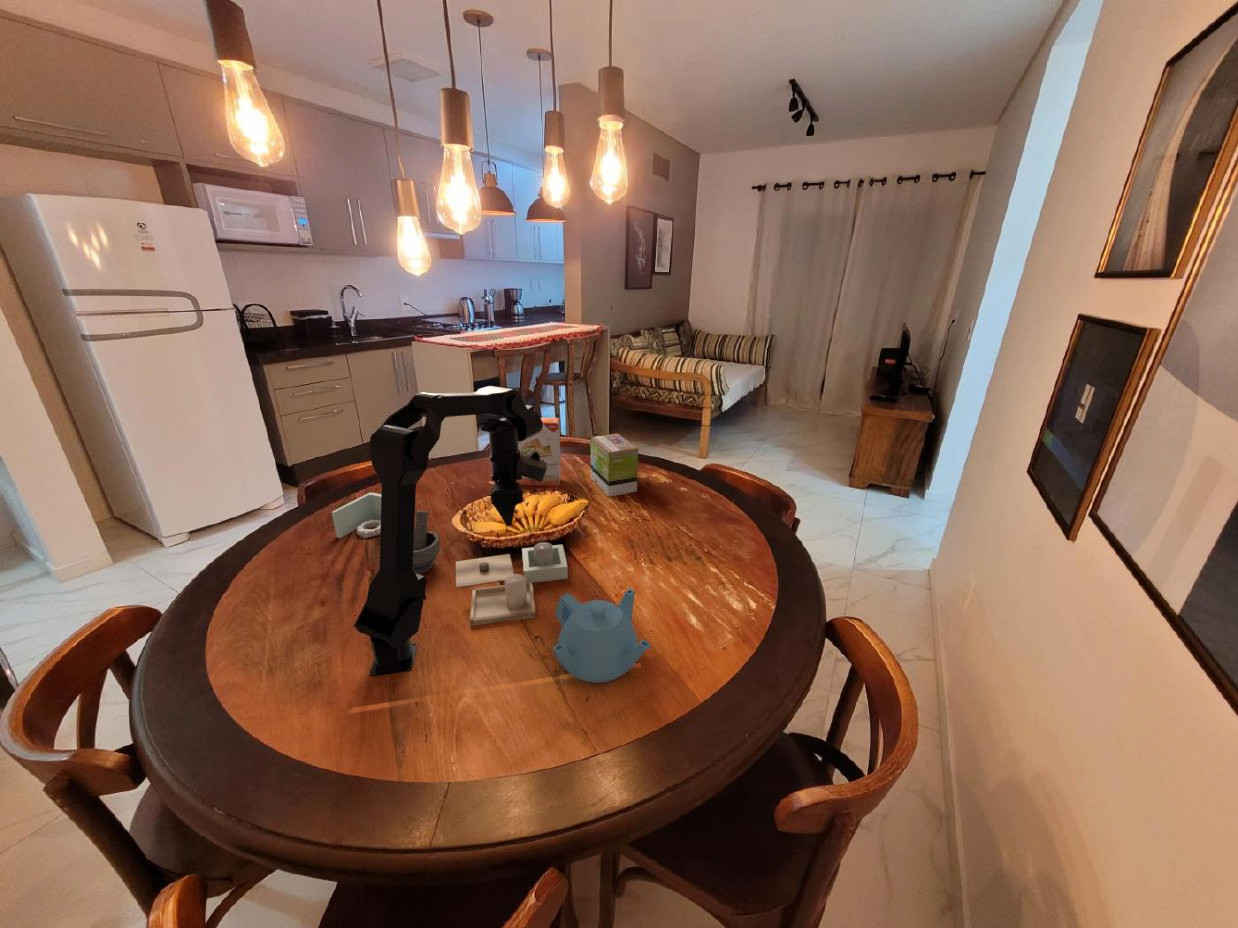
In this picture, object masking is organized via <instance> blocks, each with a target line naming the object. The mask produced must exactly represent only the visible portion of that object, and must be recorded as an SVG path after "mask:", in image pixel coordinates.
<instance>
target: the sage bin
mask: <svg viewBox="0 0 1238 928" xmlns="http://www.w3.org/2000/svg"><path fill="white" fill-rule="evenodd" d="M551 545H552V552H553V565H549V566H539V567H535V559H534V546H533V547H532V546H531V547H524V548H521V552H522V553H521V555H522V556H521V557H522V568H523V576H524V577H525V578H526V583H528V582H532V584H533V583H543V582H550V581H558V580H559V581H561V580H568V579H569V575H568V574H569V573H568V572H569V571H568V563H567V558H566V554H565V549H564V546H563V545H564V544H556V545H554V544H551Z"/></svg>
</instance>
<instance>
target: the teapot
mask: <svg viewBox="0 0 1238 928" xmlns="http://www.w3.org/2000/svg"><path fill="white" fill-rule="evenodd" d="M635 594H636V590H635V589H631V588H628V589H627V590H626V591H624V595H623V596H622V597H621V601H619V602H620V603H619V604H618V606H617V604H615V603H612V602H610V601H609V600H602V599H601V600H600V599H593V600H588V601H586V602H584V603H581V602H579V601H578V600H577V599H576V598H575V597H574V596H573V595H572V594H570V592H566V593H565V594H563V595H561V596H560V597H559V600H558V603H557V607H556V608H555V609H556V610H555V612H554V614H555V616H556V618H557V619H558V622H559V624H560V625H561V630H560V632H559V636H558V638H557V644H556V645H555V646H554V647H552V651H553V653H554V655H555V658H556V659H557V661H558V663H559V665H560V667H562V668H563V669H564V670H565V671H566V672H567V673H568V674H570V675H571V676H572V677H573V678H576V679H578V680H580V681H583V682H586V683H591V684H603V683H608V682H611V681H614V680H616V679H618V678H620V677H622V676H623V675H625V674H627V672H628V671H629V670H631V668H633V666H634V665H635V664H636V663H637V662H638V660H639V659H640V658H641V657H642V656H643V655H644V654H645V652H646V651H647V650H648V649H649V648H650V647H651V645H652V644H651V643H650V642H648V641H646V640H645V639H644V638H643V639H641V641H639V640H638V637H637V632H636V630H635V628H634V626H633V623H632V621H633V613H634V603H635ZM638 641H639V642H638Z"/></svg>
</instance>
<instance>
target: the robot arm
mask: <svg viewBox="0 0 1238 928" xmlns="http://www.w3.org/2000/svg"><path fill="white" fill-rule="evenodd" d="M474 415H475V416H476V415H477V416H479V415H489V416H494V417H495V416H496V417H500V418H497V419H494V418H487V420H486V422H485V423H484V424H483V425H482V426H481V428H480V430H481V431H482V432H486V433H488V435H489V436H488V439H489V451H490V453H489V454H490V456H489V457H490V459H489V461H490V464H491V467H490V468H491V481H493V482H494V483H493V485H492V486H491V487H490V492H489V493H490V503H491V505H492V506H493V507H494V508H495V510H496V511H497V513H498V514H499V516H500V517H501V519H502V521H503V523H504V524H505V526H506V527H509V526H513V522H514V515H515V511H516V506H518V505H520V504H521V503H523V502H524V490H523V485H520V484H519V483H518V482H516V481H517V480H522V476H524V477H527V478H531V479H535V480H536V481H539V482H542V481H543V479H544V476H545V473H546V470H547V465H546V462H544V460H540V455H539V452H535V451H532V452H531V453H530V454H529V455H526V456H522V455H520V450H519V448H518V441H524V440H526V439H528V438H530V437H532V436H534V435H536V434H538V433H539V432H540V431H541V430H542V427H543V422H542V420H541V418H542V417H541V416H540V414H538V413H537V412H536V411H535V406H534V405H531V404H525V402H524V400H523V399H522V397H521V396H520V393H519V390H517V389H514V388H507V387H499V386H493V385H488V386H484V387H481V388H478V389H477V391H474V392H449V393H448V392H446V393H445V392H444V393H443V392H442V393H440V392H439V393H438V392H437V393H435V392H434V393H430V392H424V391H423V392H419V393H416V394H414V396H413V397H412V398H411V399H410V400H409V402H408V403H407V404H406V405H404V406H402V407H401V408H399V409H398V410H397V411H395V412H393V413H392V414H390V415H389V416H388V417H387V418H386V419H385V421H384V422H383V423H382V424H381V426H380V427H379V428H377V429H376V430H375V431H374V433H372V434H371V436H370V439H369V453H370V460H371V465H372V468H373V469H374V471H375V473H376V475H377V477H378V479H379V481H380V484H381V490H380V491H381V529H380V535H379V536H380V537H379V539H380V541H379V568H378V571H376V574H374V576H373V578H372V580H371V581H369V583H368V584H369V586H368V591H367V597H366V601H365V603H364V604H363V607H362V609H361V611H360V613H359V615H358V616H357V619H356V621H355V623H354V625H353V627H354V628H355V630H357V632H358V633H361V634H363V635H366V636H368V637H369V639H370V644H371V648H372V649H371V650H372V654H373V662H372V665H371V668H370V671H369V674H368V675H369V676H370V677H378V676H385V675H390V674H398V673H405V672H411V671H412V669H413V667H414V661H415V658H416V653H417V648H418V643H417V642H411V639H410V638H412V637H413V636H414V635H416V634H417V633H418V632H419V630H420V625H421V617H422V612H423V606H424V601H426V600H427V596H426V586H427V578H426V576H424V575H422V574H416V573H415V571H414V569H413V550H414V529H415V522H416V515H415V513H416V497H417V496H416V494H417V493H416V492H417V484H418V482H419V480H420V479H421V478H422V476H423V475H424V473H425V472H426V470H427V468H428V463H429V458H430V452H432V450H433V449H434V447H435V446H436V444H437V443H438V441H439V440H440V437H441V431H442V430H441V429H442V423H443V421H444V420H445V419H446V418H450V417H464V416H466V417H467V416H474ZM423 418H425V422H424V425H423V426H422V427H421V429H420V430H416V429H412V428H410V427H413V426H414V425H416V423H418V422H420V421H421V420H422V419H423Z"/></svg>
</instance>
